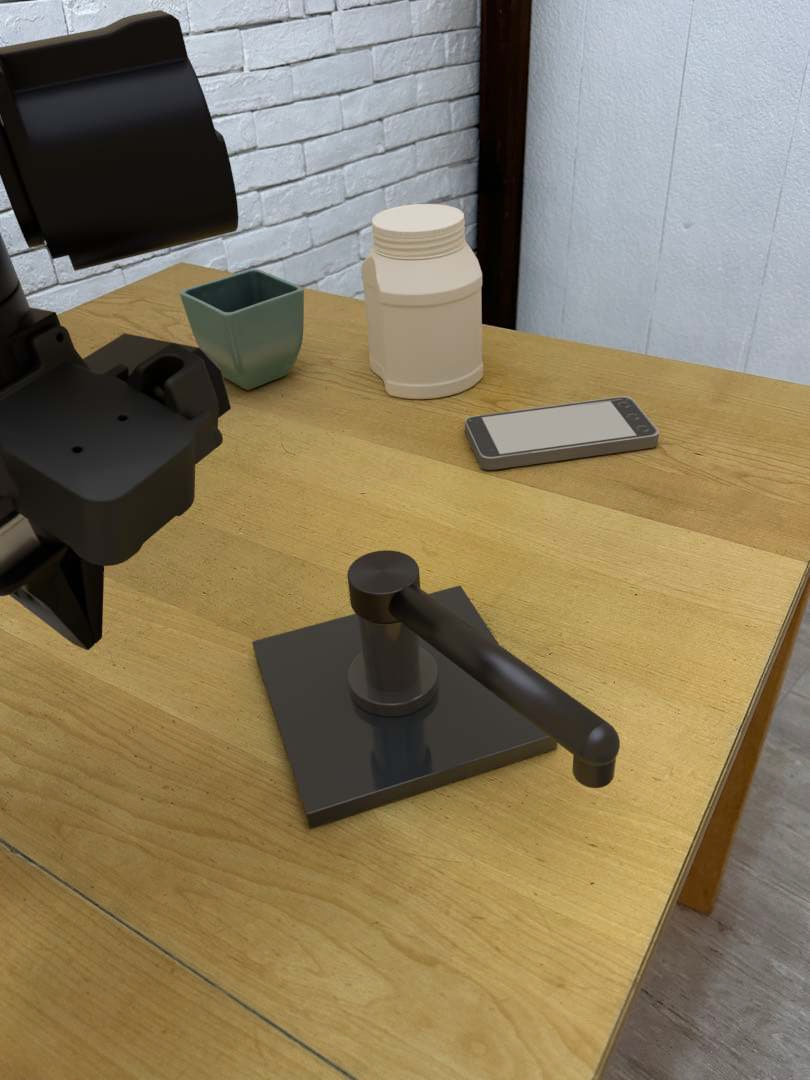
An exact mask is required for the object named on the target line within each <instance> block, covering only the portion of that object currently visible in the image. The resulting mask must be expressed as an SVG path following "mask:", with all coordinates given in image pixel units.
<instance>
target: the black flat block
mask: <svg viewBox="0 0 810 1080" xmlns="http://www.w3.org/2000/svg"><path fill="white" fill-rule="evenodd" d="M428 594H429V595H430V596H432V597H433V598H434V599H436V600H437V601H439V602H440V603H441V604H443V605H444V606H446V607H447V608H448V609H450V610H451V611H453V612H454V613H455V614H457V615H458V616H460V617H461V618H462V619H464V620H465V621H467V622H468V623H469V624H471V625H472V626H474V627H475V628H476V629H478V630H479V631H481V632H482V633H483V634H485V635H486V636H488V637H489V638H490V639H492V640H493V641H495V642H496V643H497V644H499V642H498V640H497V638H495V636H494V634H493V633H492V632H491V631H492V630H491V629H490V628H489V627H488V625H487V624H486V622H485V621H484V619H483V618H482V616H481V614H480V613H479V611H478V610H477V608H476V606H475V605H474V603H473V602H472V601H471V599H470V598H469V596H468V594H467V593H466V592H465V590H464V588H463V586H462V585H455V586H453V587H449V588H445V589H442V590H437V591H434V592H430V593H428ZM251 643H252V644H251V645H252V649H253V653H254V657H255V660H256V664H257V666H258V670H259V673H260V677H261V680H262V683H263V685H264V689H265V692H266V695H267V698H268V701H269V705H270V708H271V711H272V715H273V718H274V720H275V724H276V727H277V730H278V734H279V736H280V740H281V743H282V746H283V750H284V752H285V756H286V759H287V761H288V765H289V768H290V772H291V774H292V775H291V776H292V778H293V782H294V784H295V788H296V791H297V794H298V797H299V801H300V803H301V808H302V810H303V814H304V816H305V818H306V819H305V821H306V823H307V826H308V829H314V828H317V827H320V826H323V825H327V824H329V823H332V822H335V821H338V820H342V819H345V818H347V817H352V816H354V815H356V814H361V813H363V812H367V811H369V810H372V809H375V808H378V807H379V808H380V807H381V806H384V805H388V804H390V803H393V802H397V801H400V800H403V799H406V798H409V797H412V796H416V795H418V794H421V793H425V792H429V791H430V790H434V789H437V788H439V787H443V786H447V785H449V784H452V783H455V782H458V781H461V780H464V779H467V778H471V777H473V776H476V775H480V774H483V773H486V772H489V771H493V770H495V769H499V768H502V767H505V766H508V765H511V764H514V763H517V762H520V761H523V760H526V759H530V758H533V757H535V756H539V755H542V754H545V753H548V752H551V751H554V750H556V749H558V743H557V742H556V741H555V740H553V739H552V738H551V737H549V736H548V735H547V734H545V733H544V732H543V731H542V730H540V729H539V728H538V727H536V726H535V725H534V724H532V723H531V722H530V721H529V720H527V719H526V718H525V717H523V716H522V715H521V714H519V713H518V712H517V711H516V710H514V709H513V708H512V707H510V706H509V705H508V704H506V703H505V702H504V701H503V700H501V699H500V698H499V697H497V696H496V695H495V694H493V693H492V692H491V691H490V690H488V689H487V688H486V687H484V686H483V685H482V684H480V683H479V682H478V681H477V680H475V679H474V678H473V677H471V676H470V675H469V674H467V673H466V672H465V671H464V670H462V669H461V668H460V667H458V666H457V665H456V664H454V663H453V662H452V661H451V660H449V659H448V658H447V657H445V656H444V655H443V654H441V653H440V652H439V651H438V650H436V649H435V648H434V647H432V646H431V645H430V644H429V643H427V642H426V641H425V640H423V639H422V638H421V637H419V636H418V635H417V634H416V633H414V632H413V631H412V630H410V629H409V628H408V627H406V626H405V625H404V624H403V623H401V622H400V621H396V622H390V623H376V622H371V621H367V620H365V619H363V618H361V617H359V616H358V615H357V614H356V613H352V614H348V615H345V616H341V617H338V618H333V619H330V620H326V621H323V622H319V623H315V624H312V625H308V626H304V627H301V628H297V629H293V630H289V631H286V632H283V633H278V634H275V635H272V636H267V637H264V638H260V639H256V640H253V641H252V642H251Z"/></svg>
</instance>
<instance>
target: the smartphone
mask: <svg viewBox="0 0 810 1080" xmlns="http://www.w3.org/2000/svg"><path fill="white" fill-rule="evenodd" d="M464 433H465V435H466V438H467V440H468V443H469V444H470V446H471V449H472V451H473V454H474V456H475V458H476V460H477V462H478V464H479V466H480V468H482V469H484V470H488V471H495V470H500V469H509V468H516V467H523V466H530V465H538V464H545V463H551V462H552V463H553V462H559V461H565V460H573V459H581V458H589V457H596V456H601V455H610V454H616V453H624V452H632V451H639V450H645V449H653V448H656V447H657V446H658V443H659V435H660V430H659V429H658V427H656V425H655V424H654V423H653V422H652V420H651V419H650V418H649V416H647V414H646V413H645V412H644V411H643V409H642V408H641V407H640V406H639V405H638V403H637V402H636V401H635V399H634V398H632V397H630V396H625V395H623V396H613V397H606V398H598V399H597V398H596V399H591V400H584V401H575V402H568V403H562V404H561V403H560V404H553V405H545V406H539V407H538V406H537V407H530V408H523V409H515V410H507V411H501V412H500V411H499V412H493V413H486V414H485V413H484V414H478V415H471V416H468V417H466V418H465V419H464Z"/></svg>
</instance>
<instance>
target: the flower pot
mask: <svg viewBox="0 0 810 1080" xmlns="http://www.w3.org/2000/svg"><path fill="white" fill-rule="evenodd" d="M178 293H179V297H180V299H181V302H182V305H183V307H184V308H183V309H184V311H185V314H186V318H187V320H188V323H189V326H190V329H191V332H192V335H193V338H194V339H195V342H196V344H197V346H198V348H200V349H202V350H203V351H205V352H206V353H207V354H208V355H209V356H210V357H211V358H212V359H213V360H214V361H215V362H216V363H217V364H218V365H219V366H220V368H221V371H222V375H223V379H225V380H228V381H229V382H230V383H233V384H235V385H236V386H238V387H239V388H242V389H244V390H246V391H249V390H253V389H255V388H258V387H260V386H262V385H264V384H268V383H270V382H272V381H275V380H278V379H280V378H283V377H286V376H288V375H289V373H290V372H291V370H292V368H293V366H294V365H295V363H296V361H297V358H298V357H299V354H300V352H301V348H302V344H303V338H304V327H305V326H304V323H305V322H304V321H305V319H304V318H305V309H304V308H305V288H304V287H302V286H301V285H298V284H296V283H293V282H290V281H289V280H286V279H283V278H281V277H278V276H276V275H274V274H272V273H268V272H267V271H264V270H262V269H258V268H250V269H246V270H244V271H240V272H237V273H234V274H231V275H228V276H225V277H221V278H218V279H216V280H212V281H209V282H206V283H202V284H198V285H195V286H192V287H188V288H185V289H183V290H181V291H179V292H178Z"/></svg>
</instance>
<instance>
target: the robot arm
mask: <svg viewBox="0 0 810 1080" xmlns="http://www.w3.org/2000/svg"><path fill="white" fill-rule="evenodd" d="M206 99H207V98H206V96H205V93H204V91H203V88H202V86H201V83H200V80H199V78H198V74H197V73H196V71H195V68H194V67H193V64H192V62H191V60H190V58H189V55H188V51H187V47H186V43H185V39H184V34H183V31H182V26H181V22H180V20H179V19H178V18H177V17H175V16H174V15H172V14H171V13H168V12H166V11H164V10H162V9H157V10H153V11H146V12H142V13H136V14H132V15H128V16H124V17H121V18H120V19H118V20H116V21H114V22H112V23H110V24H108V25H105V26H104V27H99V28H96V29H91V30H86V31H80V32H76V33H70V34H65V35H58V36H54V37H49V38H43V39H38V40H33V41H27V42H22V43H16V44H11V45H5V46H0V179H1V182H2V185H3V188H4V190H5V193H6V195H7V198H8V201H9V204H10V206H11V209H12V212H13V214H14V216H15V219H16V221H17V224H18V226H19V229H20V231H21V234H22V236H23V238H24V241H25V243H26V245H27V247H28V248H29V249H33V248H36V247H41V246H44V245H45V246H47V249H48V252H49V255H50V257H51V259H52V260H55V259H59V258H64V257H67V256H68V258H69V260H70V263H71V266H72V269H73V271H74V272H77V271H80V270H84V269H89V268H92V267H96V266H101V265H104V264H108V263H113V262H116V261H120V260H125V259H129V258H133V257H137V256H142V255H146V254H149V253H153V252H158V251H162V250H165V249H170V248H175V247H178V246H182V245H184V244H189V243H194V242H197V241H201V240H205V239H210V238H214V237H219V236H222V235H227V234H230V233H235V232H237V230H238V228H239V206H238V205H239V204H238V199H237V191H236V184H235V180H234V175H233V170H232V165H231V161H230V155H229V152H228V148H227V143H226V140H225V138H224V136H223V134H222V133H221V132H219V130H217V129H216V128H215V125H214V122H213V118H212V115H211V112H210V109H209V106H208V103H207V100H206ZM231 408H232V406H231V403H230V398H229V394H228V390H227V386H226V384H225V378H224V377H223V375H222V371H221V368H220V366H219V365H218V364H217V363H216V362H215V361H214V360H213V359H212V358H211V357H210V356H209V355H208V354H207V353H206V352H205V351H203V350H202V349H200V348H199V346H198V347H197V346H192V345H187V344H182V343H177V342H171V341H166V340H161V339H156V338H151V337H145V336H141V335H135V334H130V333H122V334H121V335H120V336H118V337H115V338H114V339H113V340H111V341H109V342H108V343H106V344H105V345H103V346H101V347H99V348H98V349H97V350H95V351H93V352H91V353H90V354H88V355H87V356H85V357H82V356H81V355H80V353H79V352H78V351H77V350H76V348H75V346H74V343H73V340H72V337H71V334H70V332H69V330H68V329H67V327H65V326H63V325H62V324H61V322H60V320H59V317H58V313H57V312H56V311H51V310H46V309H40V308H36V307H32V306H31V307H30V303H29V302H28V299H27V297H26V294H25V291H24V289H23V286H22V284H21V281H20V278H19V276H18V274H17V272H16V269H15V266H14V264H13V261H12V259H11V256H10V254H9V250H8V249H7V246H6V243H5V241H4V238H3V236H2V233H1V232H0V597H6V596H10V597H11V598H12V599H14V600H15V601H17V602H18V603H19V604H20V605H21V606H23V607H24V608H26V610H28V611H29V612H31V613H32V614H33V615H34V616H35V617H37V618H38V619H40V620H41V621H42V622H44V623H45V624H46V625H47V626H49V627H50V628H52V629H53V630H54V631H55V632H57V633H58V634H59V635H61V636H62V637H63V638H64V639H66V640H67V641H68V642H70V643H71V644H73V645H74V646H76V647H79V648H81V649H83V650H86V651H89V650H90V649H92V648H93V647H94V646H95V645H96V644H97V643H99V641H101V640H102V638H103V623H104V621H103V619H104V591H105V590H104V589H105V588H104V586H105V581H104V580H105V567H111V566H116V565H120V564H123V563H126V562H127V561H129V560H130V559H131V558H132V557H134V556H135V555H136V554H137V553H139V552H140V550H141V549H142V547H143V545H144V544H145V543H146V542H147V541H148V540H149V539H150V538H151V537H153V536H154V535H156V533H158V532H159V531H160V530H161V529H163V527H164V526H166V525H167V524H168V523H169V522H170V521H172V520H173V519H174V518H176V517H181V516H183V515H184V514H185V513H186V512H187V511H188V510H189V509H190V508H191V507H192V506H193V504H194V502H195V498H196V497H195V496H196V495H195V494H196V465H197V464H198V463H200V462H201V461H202V460H203V459H205V458H206V457H207V456H208V455H210V454H211V453H212V452H214V451H215V450H216V449H217V448H219V447H220V446H221V445H222V444H223V440H224V438H223V434H222V432H221V430H220V429H219V418H222V417H223V415H224V414H226V413H228V412H229V411H230V410H231Z"/></svg>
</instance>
